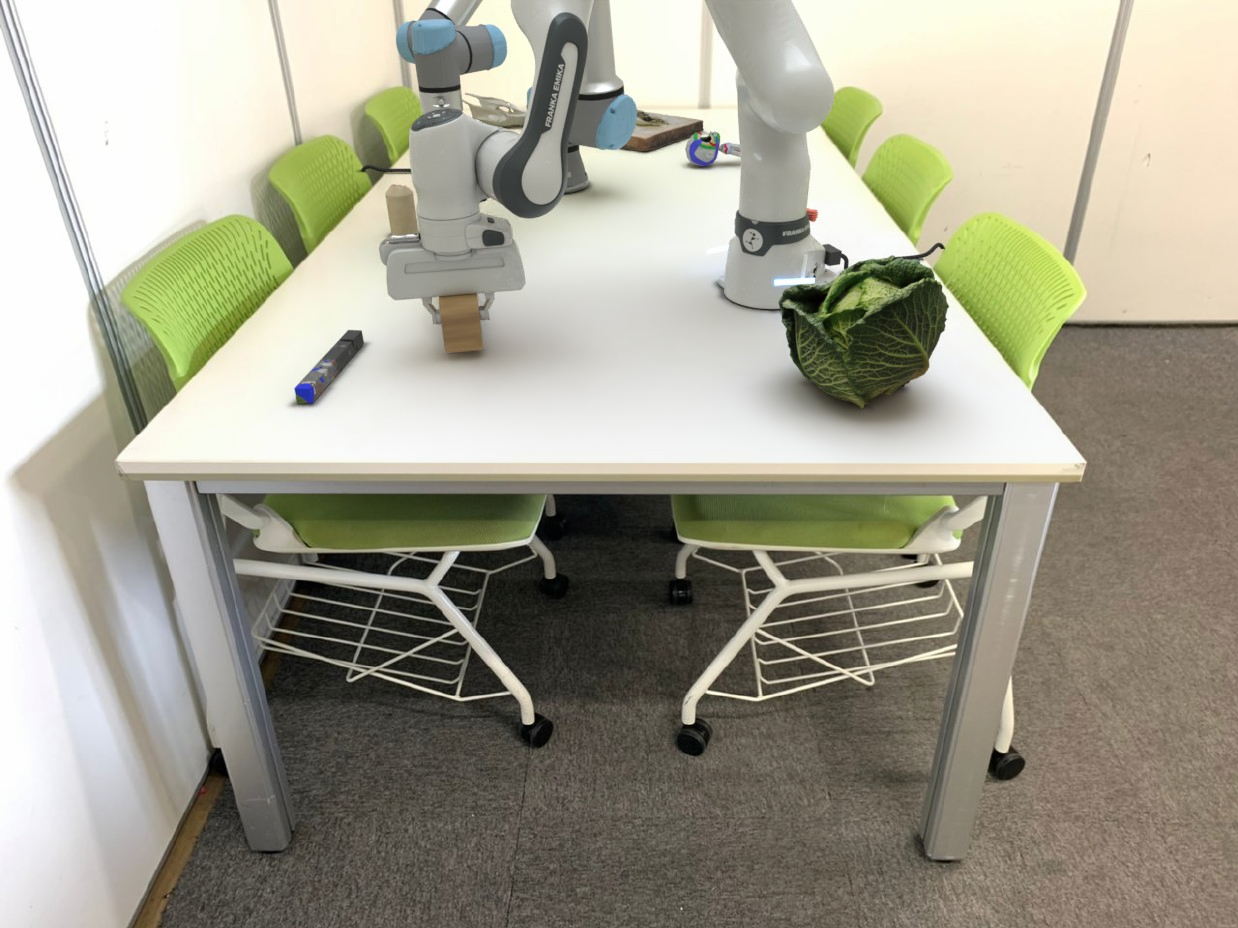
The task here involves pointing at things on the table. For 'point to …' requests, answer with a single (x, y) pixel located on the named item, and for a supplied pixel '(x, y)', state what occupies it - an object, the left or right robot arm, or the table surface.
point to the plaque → (660, 130)
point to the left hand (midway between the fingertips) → (457, 238)
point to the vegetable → (865, 327)
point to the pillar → (328, 367)
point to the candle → (401, 210)
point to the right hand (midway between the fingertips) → (461, 320)
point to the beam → (461, 323)
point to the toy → (708, 148)
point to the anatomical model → (496, 112)
